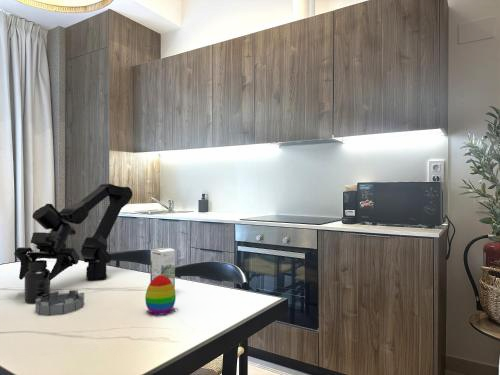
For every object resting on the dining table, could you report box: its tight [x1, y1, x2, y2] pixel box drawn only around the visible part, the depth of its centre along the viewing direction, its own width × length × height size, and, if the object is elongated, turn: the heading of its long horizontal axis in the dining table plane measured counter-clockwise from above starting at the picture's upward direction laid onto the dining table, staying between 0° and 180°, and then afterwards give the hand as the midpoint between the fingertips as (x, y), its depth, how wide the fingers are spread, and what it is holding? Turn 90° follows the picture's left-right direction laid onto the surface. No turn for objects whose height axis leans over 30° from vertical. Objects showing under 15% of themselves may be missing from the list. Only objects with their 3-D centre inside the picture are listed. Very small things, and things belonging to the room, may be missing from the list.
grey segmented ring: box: [34, 289, 85, 317], centre depth 100 cm, size 12×12×4 cm
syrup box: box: [149, 247, 176, 290], centre depth 114 cm, size 6×6×14 cm
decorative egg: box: [144, 275, 177, 315], centre depth 98 cm, size 8×8×10 cm
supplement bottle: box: [24, 259, 51, 305], centre depth 107 cm, size 7×7×12 cm
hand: (34, 279), depth 106 cm, fingers open, 9 cm apart
